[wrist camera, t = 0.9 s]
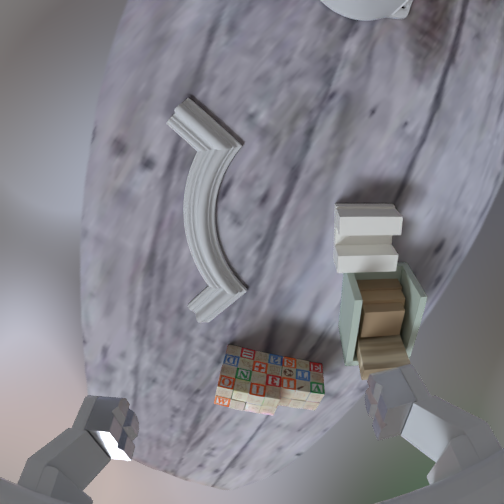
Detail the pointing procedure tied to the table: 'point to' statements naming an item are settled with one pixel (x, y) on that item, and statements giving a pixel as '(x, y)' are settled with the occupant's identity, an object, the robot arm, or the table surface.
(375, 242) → the holder
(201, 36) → the table surface
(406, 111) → the table surface
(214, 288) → the molding
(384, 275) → the rack
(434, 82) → the table surface
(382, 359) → the rectangular block
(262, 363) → the stack of blocks
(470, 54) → the table surface
